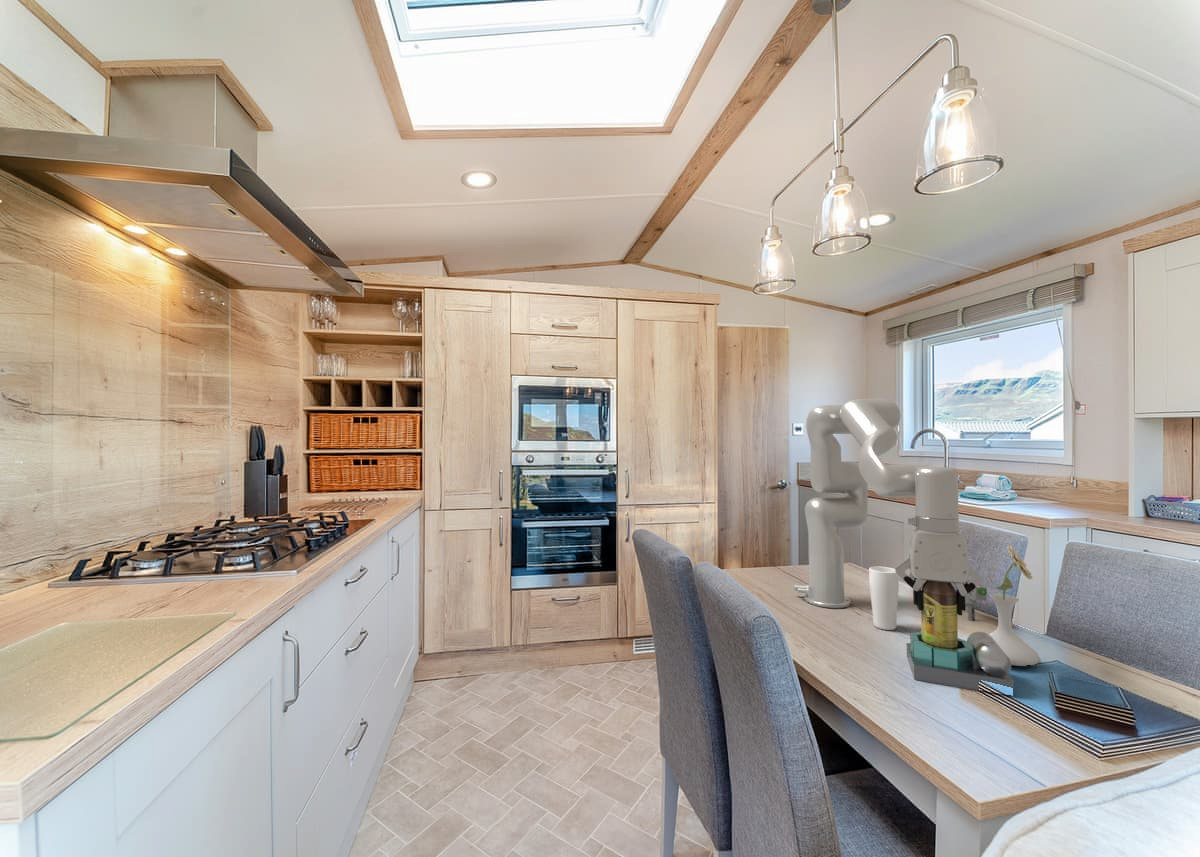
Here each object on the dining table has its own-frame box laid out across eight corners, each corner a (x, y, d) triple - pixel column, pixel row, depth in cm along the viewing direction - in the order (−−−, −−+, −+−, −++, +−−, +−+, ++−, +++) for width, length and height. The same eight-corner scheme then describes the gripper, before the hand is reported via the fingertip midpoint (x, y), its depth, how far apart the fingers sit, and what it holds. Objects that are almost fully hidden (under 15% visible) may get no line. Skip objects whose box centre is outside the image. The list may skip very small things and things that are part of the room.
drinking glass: (898, 624, 130) (896, 567, 130) (901, 633, 123) (900, 573, 124) (869, 621, 132) (867, 565, 133) (871, 629, 126) (869, 571, 127)
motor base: (914, 679, 100) (913, 639, 100) (906, 656, 110) (906, 620, 111) (1013, 696, 93) (1012, 654, 93) (995, 670, 103) (994, 632, 104)
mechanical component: (965, 613, 138) (964, 577, 138) (990, 627, 128) (989, 588, 128) (954, 613, 138) (953, 577, 138) (978, 626, 128) (977, 588, 128)
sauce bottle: (918, 643, 107) (916, 552, 107) (951, 647, 105) (949, 554, 105) (927, 656, 101) (925, 559, 101) (963, 660, 99) (960, 561, 99)
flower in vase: (1025, 676, 101) (1021, 554, 102) (963, 655, 111) (960, 544, 112) (1054, 662, 107) (1050, 547, 108) (992, 644, 117) (989, 538, 118)
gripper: (891, 525, 104) (893, 610, 104) (993, 531, 96) (995, 623, 96) (888, 520, 111) (889, 600, 110) (982, 525, 103) (985, 611, 103)
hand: (938, 610), depth 103 cm, fingers closed on sauce bottle, 6 cm apart
